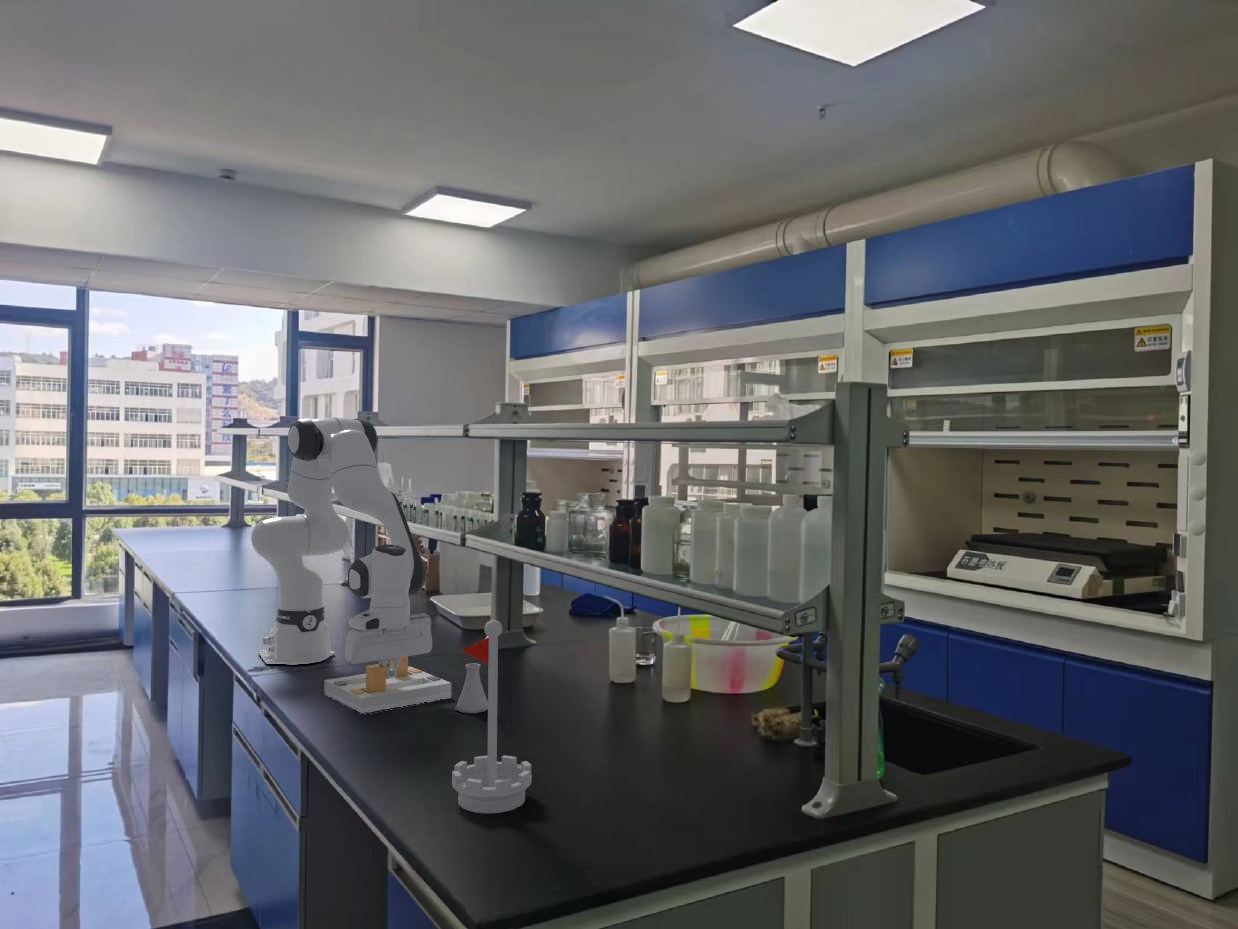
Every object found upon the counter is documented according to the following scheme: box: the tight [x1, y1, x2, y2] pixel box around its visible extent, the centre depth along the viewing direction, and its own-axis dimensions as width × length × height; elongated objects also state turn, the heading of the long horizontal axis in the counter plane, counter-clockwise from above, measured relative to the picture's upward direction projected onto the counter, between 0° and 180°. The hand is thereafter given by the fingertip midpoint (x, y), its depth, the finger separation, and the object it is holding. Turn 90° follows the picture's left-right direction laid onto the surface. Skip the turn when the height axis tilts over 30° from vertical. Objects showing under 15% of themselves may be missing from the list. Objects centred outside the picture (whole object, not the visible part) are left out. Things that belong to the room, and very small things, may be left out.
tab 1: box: [364, 663, 387, 693], centre depth 208 cm, size 4×4×7 cm
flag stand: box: [451, 619, 532, 814], centre depth 153 cm, size 13×13×30 cm
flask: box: [454, 662, 488, 714], centre depth 205 cm, size 7×7×10 cm
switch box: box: [323, 666, 452, 713], centre depth 215 cm, size 20×22×4 cm
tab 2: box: [388, 656, 409, 679], centre depth 221 cm, size 4×4×7 cm
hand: (389, 677), depth 210 cm, fingers closed
